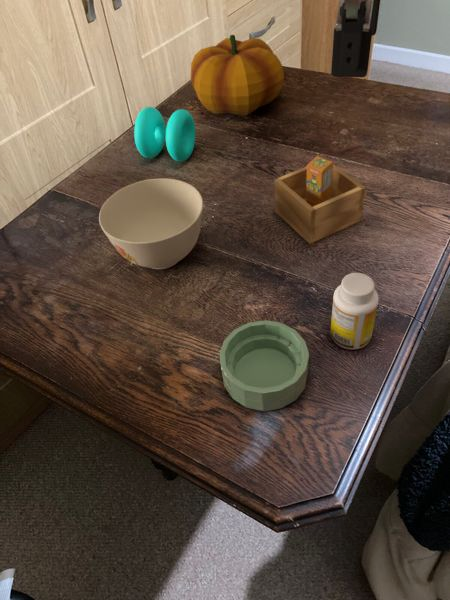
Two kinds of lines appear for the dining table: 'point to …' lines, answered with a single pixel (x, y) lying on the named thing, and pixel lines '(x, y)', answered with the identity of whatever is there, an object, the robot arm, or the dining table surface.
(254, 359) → the green bowl
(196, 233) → the bowl
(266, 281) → the dining table surface
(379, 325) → the dining table surface
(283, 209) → the wooden holder
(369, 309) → the supplement bottle
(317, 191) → the supplement box
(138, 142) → the turquoise yo-yo
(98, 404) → the dining table surface
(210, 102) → the decorative pumpkin
